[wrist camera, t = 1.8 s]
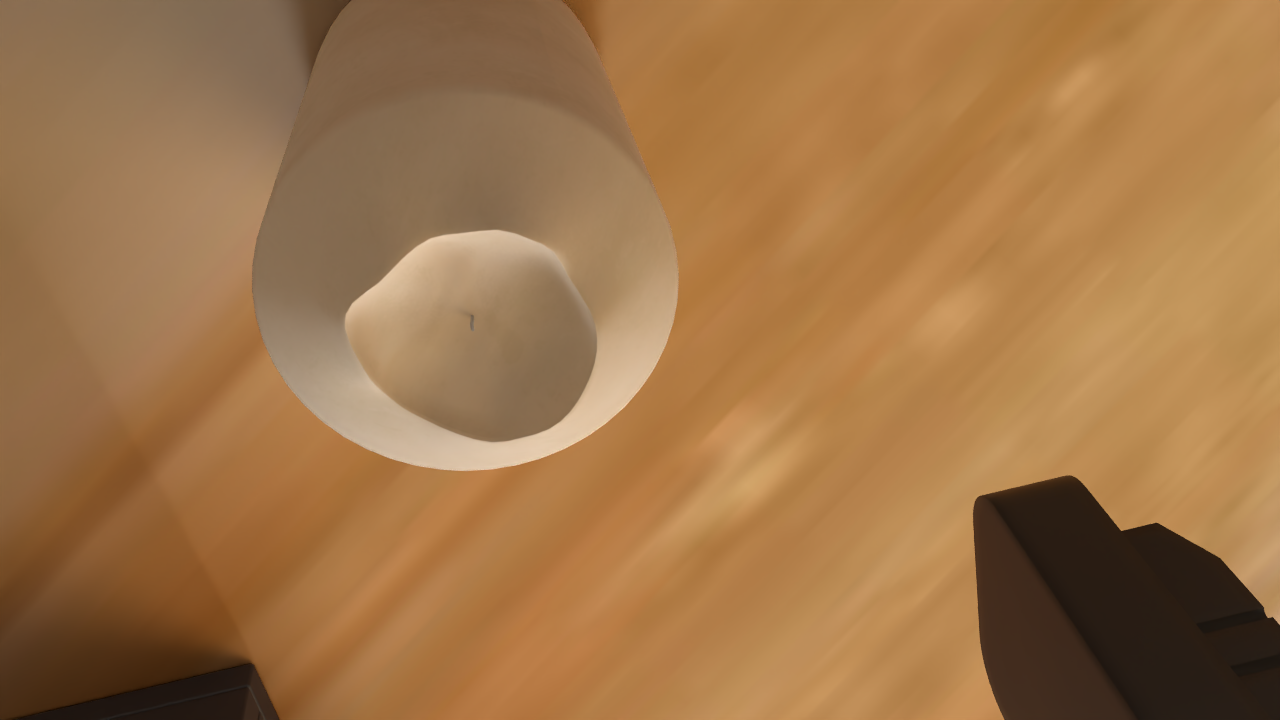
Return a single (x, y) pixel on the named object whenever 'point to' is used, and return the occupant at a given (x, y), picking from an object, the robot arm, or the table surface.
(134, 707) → the bin
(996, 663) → the robot arm
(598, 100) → the candle
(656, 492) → the table surface
